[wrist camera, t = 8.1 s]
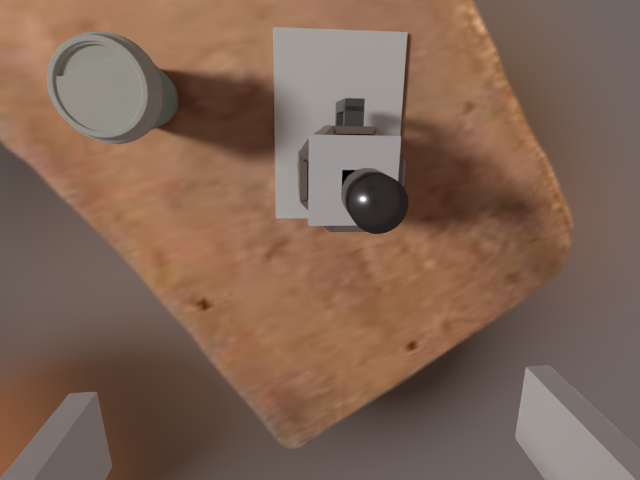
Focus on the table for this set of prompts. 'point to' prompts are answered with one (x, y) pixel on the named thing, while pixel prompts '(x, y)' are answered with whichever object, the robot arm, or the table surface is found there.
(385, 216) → the plunger
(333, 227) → the grey french press
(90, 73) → the coffee cup
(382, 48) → the mat
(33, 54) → the table surface
